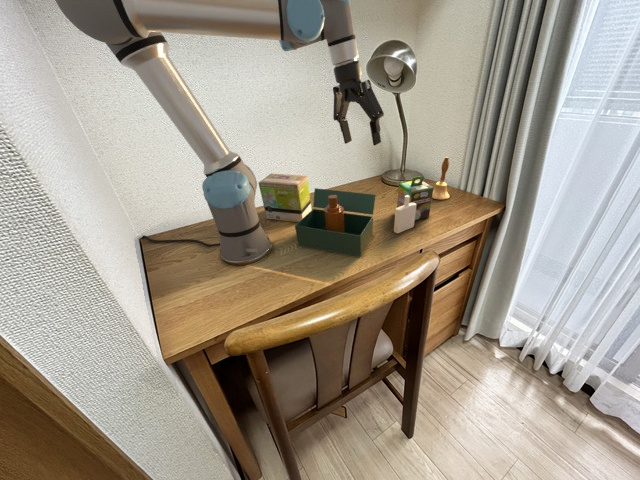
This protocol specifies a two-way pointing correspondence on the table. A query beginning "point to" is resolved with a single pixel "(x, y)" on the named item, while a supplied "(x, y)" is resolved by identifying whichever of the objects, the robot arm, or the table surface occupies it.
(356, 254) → the carton
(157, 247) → the table surface
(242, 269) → the table surface
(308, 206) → the tea box
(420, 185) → the chalk box
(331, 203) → the amber bottle
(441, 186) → the hand bell
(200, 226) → the table surface
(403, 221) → the perfume bottle
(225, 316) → the table surface
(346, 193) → the flap
